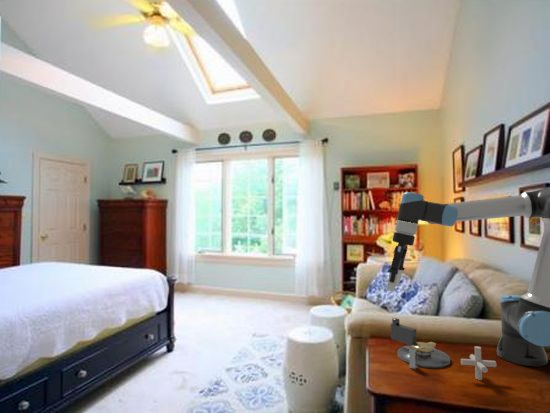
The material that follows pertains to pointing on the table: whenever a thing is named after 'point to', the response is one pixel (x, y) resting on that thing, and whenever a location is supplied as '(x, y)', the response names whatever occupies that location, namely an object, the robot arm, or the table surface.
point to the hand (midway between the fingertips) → (392, 288)
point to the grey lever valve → (409, 337)
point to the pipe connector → (478, 363)
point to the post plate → (423, 358)
